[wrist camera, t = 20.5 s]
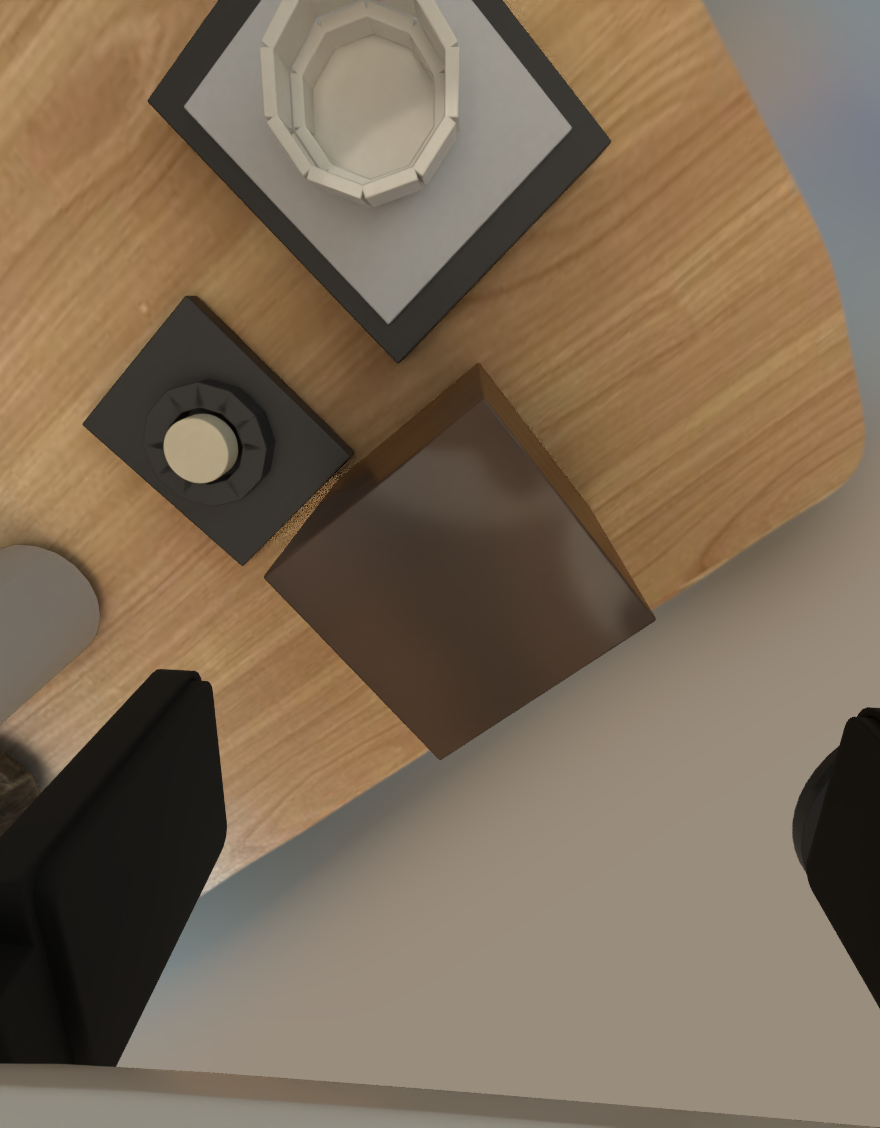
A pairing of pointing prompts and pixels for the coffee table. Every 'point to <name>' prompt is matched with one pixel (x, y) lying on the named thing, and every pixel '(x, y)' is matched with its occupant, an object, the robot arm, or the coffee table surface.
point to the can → (40, 621)
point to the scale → (442, 208)
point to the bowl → (362, 94)
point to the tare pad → (245, 403)
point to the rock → (14, 791)
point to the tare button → (200, 448)
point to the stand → (459, 569)
